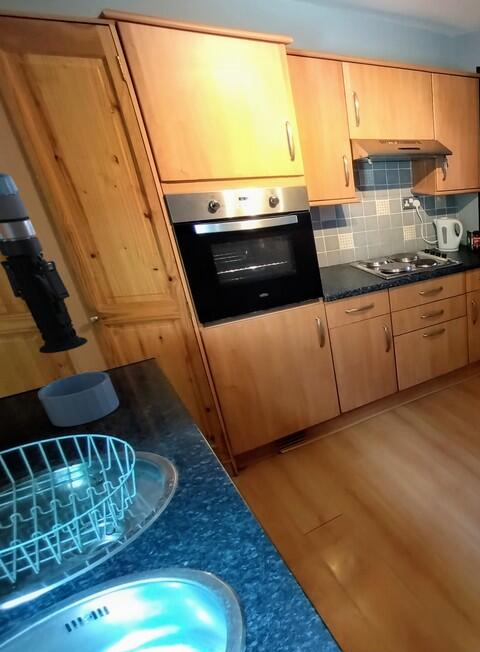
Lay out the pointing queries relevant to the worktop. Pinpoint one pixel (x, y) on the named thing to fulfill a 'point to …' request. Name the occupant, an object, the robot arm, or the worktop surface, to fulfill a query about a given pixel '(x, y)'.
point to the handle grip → (43, 308)
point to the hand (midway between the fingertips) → (53, 322)
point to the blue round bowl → (78, 398)
